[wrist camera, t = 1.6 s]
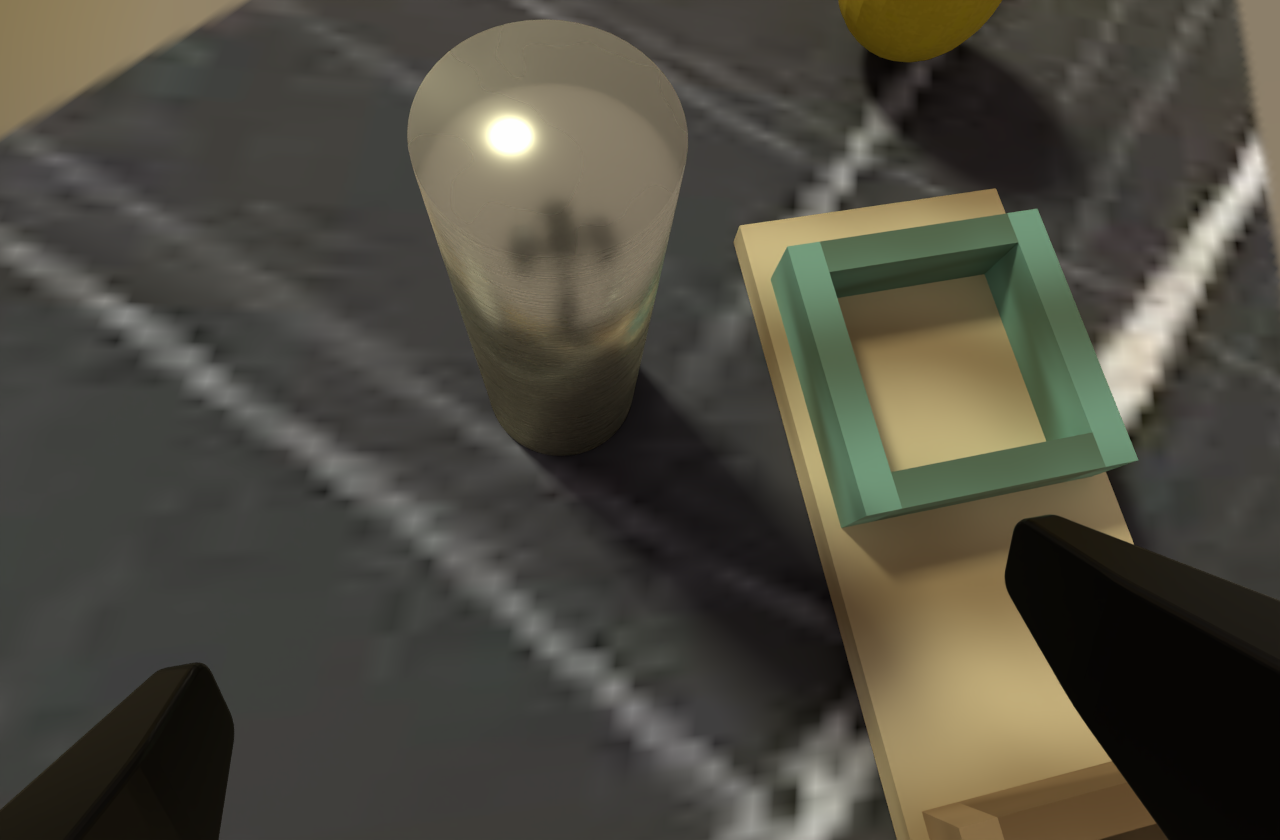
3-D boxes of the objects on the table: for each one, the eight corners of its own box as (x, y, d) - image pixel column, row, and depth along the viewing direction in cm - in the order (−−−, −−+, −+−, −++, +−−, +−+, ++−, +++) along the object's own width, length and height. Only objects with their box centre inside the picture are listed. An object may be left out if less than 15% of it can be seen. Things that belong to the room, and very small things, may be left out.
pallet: (1312, 1080, 20) (1438, 1152, 17) (992, 1189, 18) (1069, 1287, 16) (980, 205, 27) (1029, 151, 24) (733, 242, 26) (753, 189, 23)
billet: (646, 441, 23) (715, 233, 12) (501, 468, 23) (427, 275, 11) (617, 310, 24) (655, 6, 13) (479, 332, 24) (391, 34, 12)
